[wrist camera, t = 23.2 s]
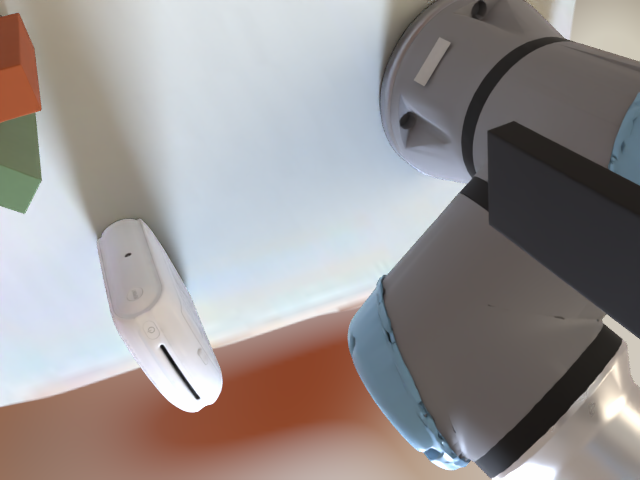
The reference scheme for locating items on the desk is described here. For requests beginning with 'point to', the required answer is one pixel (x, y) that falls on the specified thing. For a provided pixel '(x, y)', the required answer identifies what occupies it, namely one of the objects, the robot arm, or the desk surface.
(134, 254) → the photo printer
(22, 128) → the sage ring
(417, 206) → the desk surface
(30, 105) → the rust ring
